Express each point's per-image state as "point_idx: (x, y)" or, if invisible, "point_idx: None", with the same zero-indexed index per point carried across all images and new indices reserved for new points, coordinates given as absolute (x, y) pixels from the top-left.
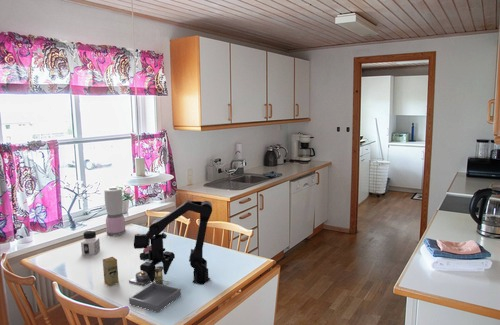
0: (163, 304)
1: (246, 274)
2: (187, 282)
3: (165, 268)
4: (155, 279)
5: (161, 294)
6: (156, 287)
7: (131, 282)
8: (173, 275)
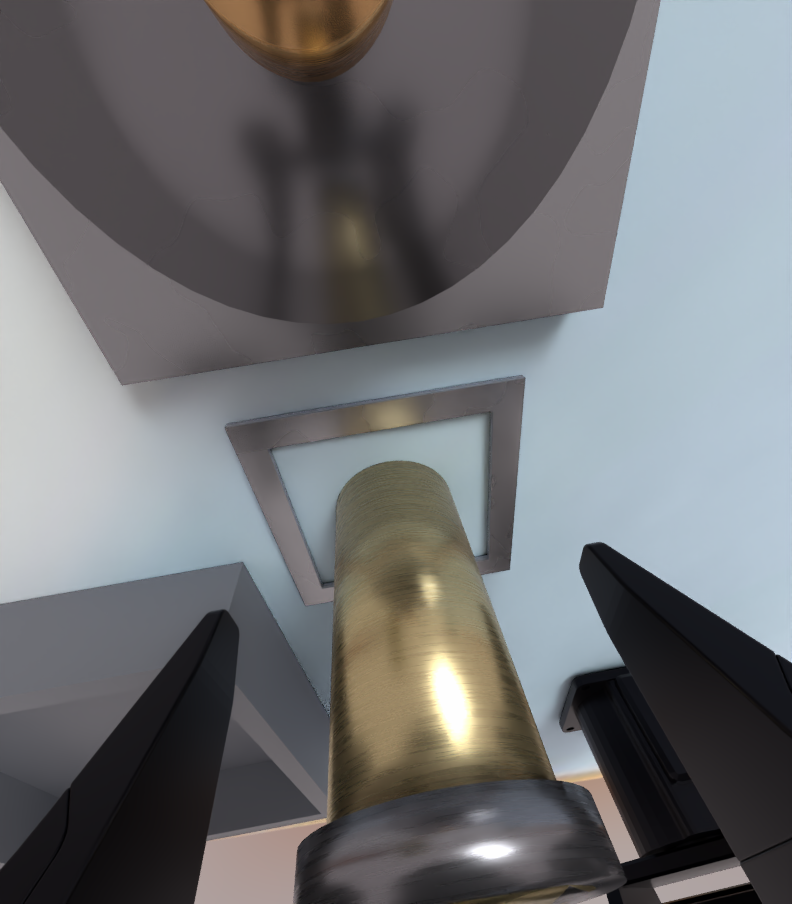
0: None
1: None
2: (559, 655)
3: (677, 693)
4: (334, 579)
5: None
6: None
7: None
8: (702, 467)
